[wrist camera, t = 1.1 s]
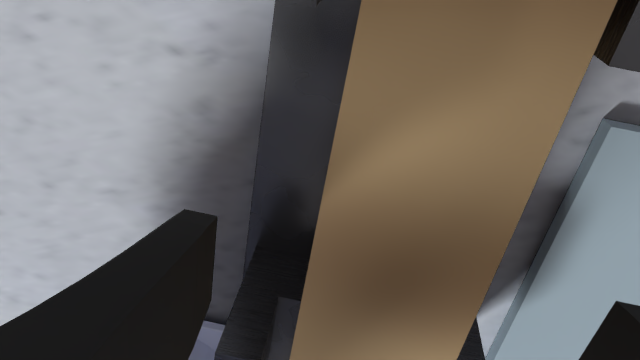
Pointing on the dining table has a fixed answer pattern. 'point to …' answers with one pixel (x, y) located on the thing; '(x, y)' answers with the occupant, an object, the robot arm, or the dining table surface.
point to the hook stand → (321, 165)
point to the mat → (581, 256)
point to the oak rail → (435, 167)
